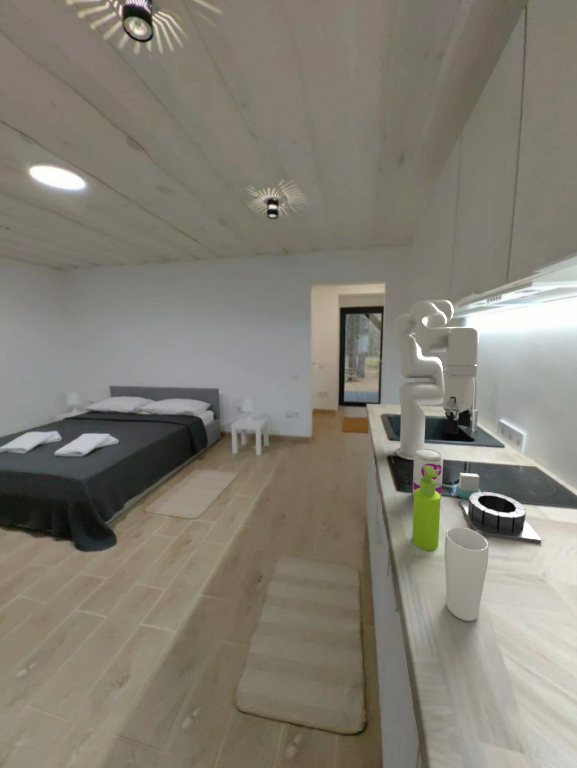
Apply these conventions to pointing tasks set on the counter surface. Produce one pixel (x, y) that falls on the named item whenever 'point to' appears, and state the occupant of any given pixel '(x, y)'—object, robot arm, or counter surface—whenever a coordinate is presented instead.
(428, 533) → the soap dispenser
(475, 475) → the cap
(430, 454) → the supplement can
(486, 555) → the drinking glass
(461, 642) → the counter surface
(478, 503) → the segmented ring on plate
